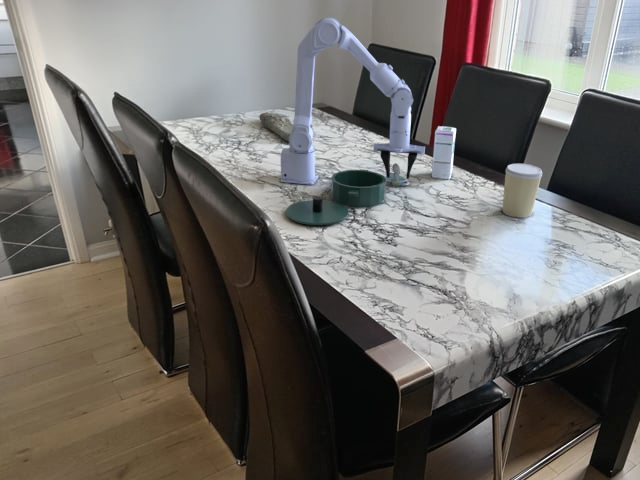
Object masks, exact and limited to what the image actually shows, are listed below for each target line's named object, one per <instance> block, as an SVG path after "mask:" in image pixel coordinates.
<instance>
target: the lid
mask: <svg viewBox="0 0 640 480" xmlns="http://www.w3.org/2000/svg"><path fill="white" fill-rule="evenodd" d="M349 214H350V211H349V209H348V207H347V206H345V205H341V204H339V203H337V202H335V201H333V200H332V201H331V200H327V199H326V200H324V199H323V197H322V196H319V195H315V196H313V197H312V199H307V200H302V201H297V202H295V203H292V204H290V205H289V206H288V207H287V208H286V210H285V215H286V216H287V218H288V219H290V220H291V221H293V222H296V223H299V224H303V225H309V226H310V225H311V226H327V225H333V224H334V225H335V224H338V223H340V222H343V221H344V220H346V219H347V218H348V217H349Z"/></svg>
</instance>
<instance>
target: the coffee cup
mask: <svg viewBox="0 0 640 480" xmlns="http://www.w3.org/2000/svg"><path fill="white" fill-rule="evenodd" d="M542 177H543V171H542V169H541V168H540V167H538V166H535V165H533V164H528V163H511V164H508V165H507V167H506V168H505V178H504V187H503V198H502V212H503V214H505V215H507V216H509V217H512V218H521V219H522V218H528V217H530V216H531V215H532V213H533V211H534V206H535V202H536V199H537V195H538V191H539V187H540V183H541V179H542Z"/></svg>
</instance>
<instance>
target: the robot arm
mask: <svg viewBox="0 0 640 480" xmlns="http://www.w3.org/2000/svg"><path fill="white" fill-rule="evenodd" d="M335 45H337V49H339V50H340V49H341V50H345V51H348V52H350V54H351V55H353V56H354V58H355V59H357V61H358V62H359V63H360V64H361V65H362V66H364V68H366V70H367V71H368V72H369V80H370V81H371V82H372V83H373V84H374V85H375V86H376V87H377V89H379V90H380V92H382V94H384V96H385V97H387V98H389V99H390V102H391V112H390V114H389V115H390V117H389V142H387V143H386V142H385V143H384V142H383V143H373V153H378V152H380V154H379V155H380V159H381V161H382V163H383V166H384V169H385V173H386V175H387V177H389V176H390V173H391V153H398V154H408V155H407V168H406V178H405V179H406V180H410V175H411V170H412V168H413V166H414V164H415V162H416V161H417V158H418V155H421V156H425V150H426V146H421V145H416V144H410V140H411V123H412V114H411V112H412V105H413V103H414V97H413V94H412V90H411V89H410V87H409V85H408V84H406V82H405V80H404V79H403V78H402V79H401V78H400V77H399V76H398V75H397V74H396V73H395V72H394V71H393V70H394V68H393V66H392V65H391V64H387V63H385V62H378V61H377V60H376V58H375V57H374V56H373V55H372V54H371V53H370V52H369V51H368V49H366V47H365V46H364V45H363V44H362V43H361V41H360V40H359V39H358V38H357V37H356V36H355V34H353V33H352V32H351V30H349V29H348V28H347V27H346V26H345V25H343V24H341V23H340V22H339V21H338V19H337V18H335V17H333V16H326V17H323V18H322V19H320V20H318V21H317V22H315V23H314V25H313V26H311V28H310V29H309V31H308V32H307V33H306V35H304V37H303V38H302V40H301V41H300V43H299V44H298V46H297V56H296V57H297V60H296V77H295V78H296V79H295V80H296V81H295V96H294V97H295V99H294V116H293V123H292V124H293V129H292V133H291V135H290V137H289V141H288V144H289V147H284V148H282V150H281V153H280V182H281V183H289V184H301V185H310V186H313V185H314V184H315V183H316V181H317V180H318V178H319V177H320V176H319V174H316V147H315V146H314V145H313V140H314V138H315V130H314V128H313V125H312V123H313V122H312V121H313V120H312V119H313V115H312V113H313V112H312V111H313V99H314V98H313V97H314V96H313V95H314V84H315V83H314V81H315V66H316V65H315V64H316V56H317V55H319V54H320V53H321V52H323V51H324V50H325V49H328V48H329V49H330V48H331V47H334V46H335ZM386 175H385V176H386Z"/></svg>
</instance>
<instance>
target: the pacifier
mask: <svg viewBox="0 0 640 480" xmlns="http://www.w3.org/2000/svg"><path fill="white" fill-rule="evenodd" d="M391 170H392V171H393V172H390V176H389V177H387V175H385V178H386V181H388V182H390V183H391V185H393V186H395V187H400V186H405V187H406V186H409V185H410V181H409V180H408V179H406V178H404V177H403V176H401V175H400V174H401V168H400V166H399V164H398V163H396V162H395V163H393V164H392V169H391Z"/></svg>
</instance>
